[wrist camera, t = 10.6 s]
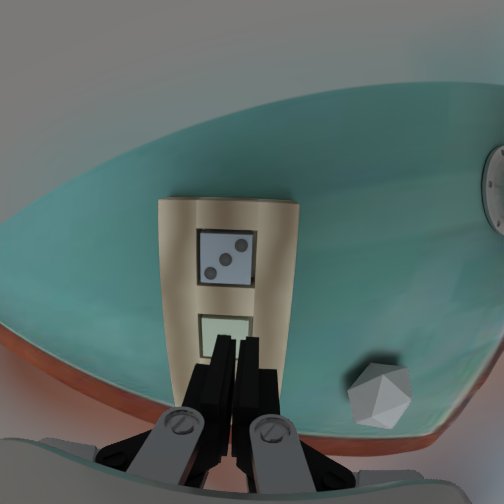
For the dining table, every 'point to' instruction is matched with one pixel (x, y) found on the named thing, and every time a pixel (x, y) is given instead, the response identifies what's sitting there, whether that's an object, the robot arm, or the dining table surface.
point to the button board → (219, 294)
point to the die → (380, 395)
